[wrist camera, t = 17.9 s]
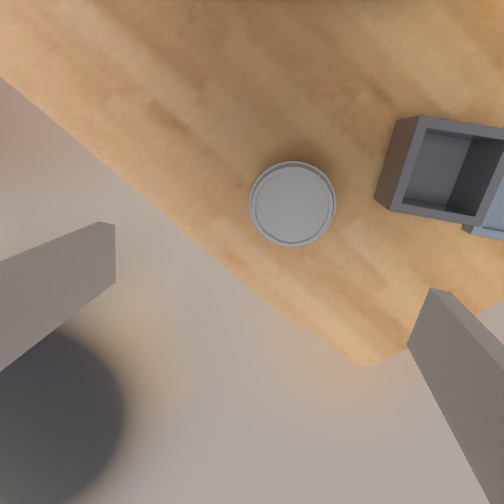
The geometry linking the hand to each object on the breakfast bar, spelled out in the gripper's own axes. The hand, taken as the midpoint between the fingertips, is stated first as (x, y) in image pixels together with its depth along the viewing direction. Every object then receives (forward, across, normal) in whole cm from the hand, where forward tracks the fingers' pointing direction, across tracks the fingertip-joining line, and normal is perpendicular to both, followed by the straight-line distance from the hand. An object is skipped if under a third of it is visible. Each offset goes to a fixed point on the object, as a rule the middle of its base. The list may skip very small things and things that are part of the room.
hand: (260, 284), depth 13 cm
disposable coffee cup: (+33, +1, -1) cm, 33 cm away
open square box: (+33, +17, +5) cm, 37 cm away
